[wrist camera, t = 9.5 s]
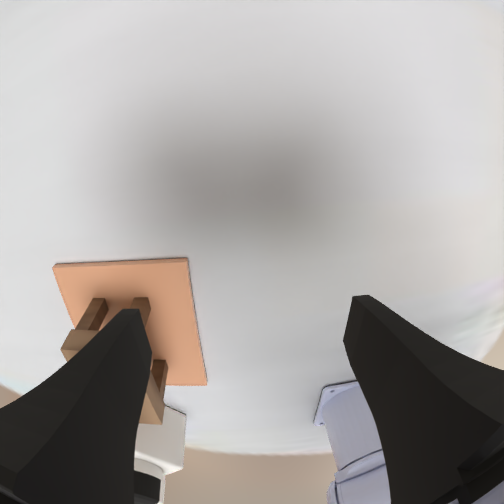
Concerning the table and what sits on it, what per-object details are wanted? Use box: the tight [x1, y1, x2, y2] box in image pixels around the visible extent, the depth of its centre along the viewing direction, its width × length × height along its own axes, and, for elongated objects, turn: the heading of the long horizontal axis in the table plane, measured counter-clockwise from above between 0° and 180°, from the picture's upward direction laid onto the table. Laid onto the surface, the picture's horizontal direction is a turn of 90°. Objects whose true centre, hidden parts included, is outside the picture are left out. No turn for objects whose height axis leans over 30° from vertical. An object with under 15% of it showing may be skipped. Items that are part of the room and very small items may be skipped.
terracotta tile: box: [52, 258, 207, 386], centre depth 22 cm, size 11×13×1 cm
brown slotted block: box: [61, 297, 168, 425], centre depth 19 cm, size 5×8×6 cm, turn 1°
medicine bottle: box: [134, 406, 186, 504], centre depth 22 cm, size 7×7×12 cm
